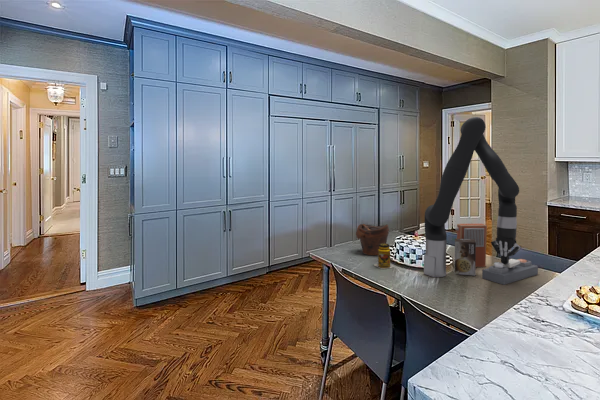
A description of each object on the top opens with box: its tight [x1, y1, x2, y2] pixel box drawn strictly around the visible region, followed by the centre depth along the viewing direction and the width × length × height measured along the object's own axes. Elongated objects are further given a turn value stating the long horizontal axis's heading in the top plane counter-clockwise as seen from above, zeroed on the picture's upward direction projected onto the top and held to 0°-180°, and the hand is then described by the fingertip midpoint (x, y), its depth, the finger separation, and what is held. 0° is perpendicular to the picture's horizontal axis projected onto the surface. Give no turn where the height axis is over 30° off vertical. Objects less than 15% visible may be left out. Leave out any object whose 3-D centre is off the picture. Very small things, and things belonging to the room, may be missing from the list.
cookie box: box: [454, 238, 477, 276], centre depth 161 cm, size 9×6×16 cm
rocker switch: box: [503, 258, 520, 268], centre depth 155 cm, size 8×4×2 cm, turn 117°
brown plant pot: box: [355, 223, 390, 256], centre depth 202 cm, size 18×20×18 cm
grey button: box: [493, 261, 504, 269], centre depth 151 cm, size 4×4×2 cm
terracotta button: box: [518, 258, 528, 263], centre depth 159 cm, size 4×4×2 cm
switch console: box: [481, 258, 539, 285], centre depth 155 cm, size 26×10×6 cm, turn 118°
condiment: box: [373, 242, 394, 270], centre depth 176 cm, size 7×8×12 cm
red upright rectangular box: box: [454, 223, 488, 268], centre depth 172 cm, size 21×7×15 cm
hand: (504, 263), depth 153 cm, fingers closed
